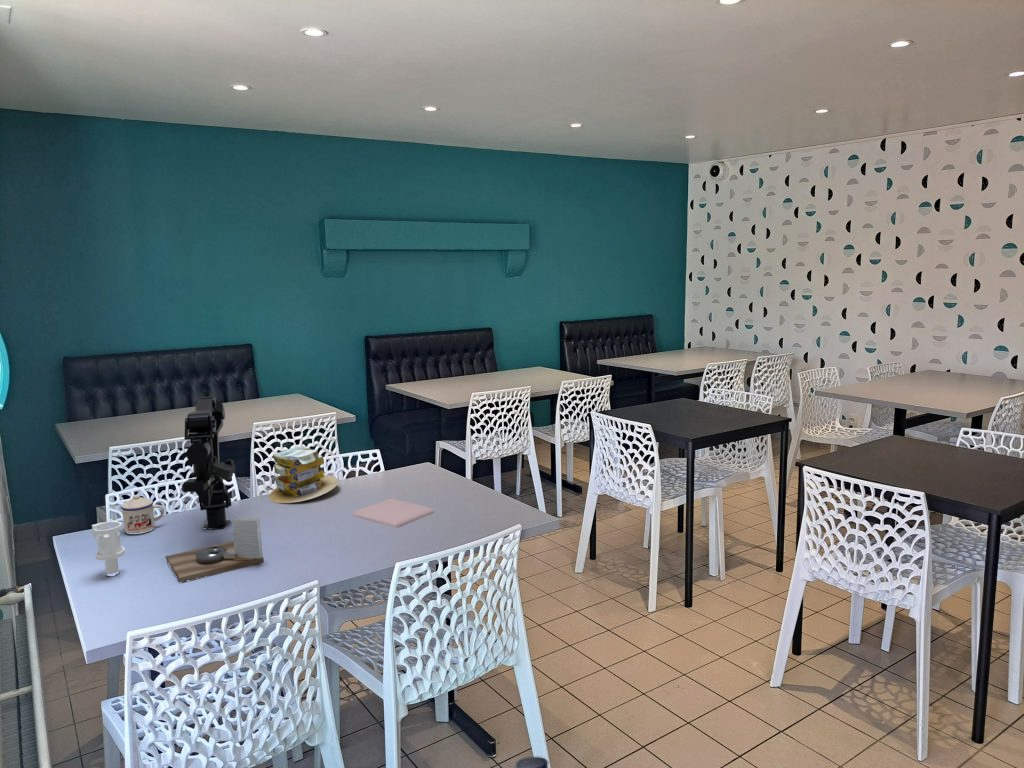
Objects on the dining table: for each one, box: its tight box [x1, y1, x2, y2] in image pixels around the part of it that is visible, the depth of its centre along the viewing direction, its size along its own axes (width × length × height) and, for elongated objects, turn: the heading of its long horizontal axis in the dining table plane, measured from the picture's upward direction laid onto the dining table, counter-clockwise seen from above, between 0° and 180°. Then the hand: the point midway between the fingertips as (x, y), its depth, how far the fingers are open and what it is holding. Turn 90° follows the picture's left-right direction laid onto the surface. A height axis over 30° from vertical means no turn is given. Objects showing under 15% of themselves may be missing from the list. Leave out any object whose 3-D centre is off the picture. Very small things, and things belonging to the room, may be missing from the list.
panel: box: [352, 497, 435, 529], centre depth 240 cm, size 35×33×2 cm
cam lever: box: [196, 517, 264, 563], centre depth 205 cm, size 18×8×11 cm, turn 86°
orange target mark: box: [234, 558, 254, 560], centre depth 206 cm, size 5×1×1 cm, turn 87°
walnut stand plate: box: [165, 540, 265, 583], centre depth 208 cm, size 18×22×2 cm
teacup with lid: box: [120, 494, 165, 533], centre depth 233 cm, size 12×9×12 cm
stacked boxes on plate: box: [268, 445, 340, 504], centre depth 267 cm, size 25×25×17 cm
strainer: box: [91, 520, 126, 574], centre depth 200 cm, size 7×7×15 cm
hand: (207, 505), depth 219 cm, fingers closed
